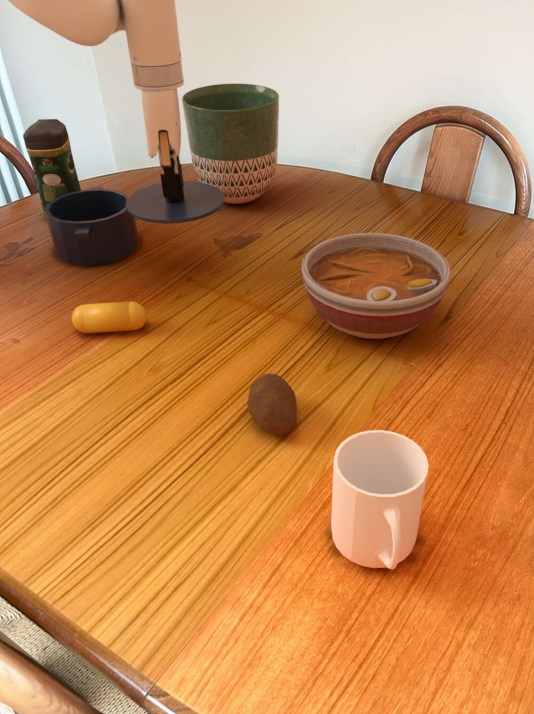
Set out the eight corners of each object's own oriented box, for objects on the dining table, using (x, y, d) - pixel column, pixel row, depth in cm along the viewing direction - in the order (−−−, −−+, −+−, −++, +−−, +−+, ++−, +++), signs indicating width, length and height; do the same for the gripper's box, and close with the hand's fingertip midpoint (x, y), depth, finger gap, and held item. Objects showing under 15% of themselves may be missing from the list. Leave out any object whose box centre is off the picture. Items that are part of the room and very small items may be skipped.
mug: (388, 493, 78) (397, 420, 70) (445, 570, 69) (462, 496, 62) (316, 519, 75) (317, 445, 67) (367, 603, 66) (375, 529, 59)
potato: (259, 449, 84) (256, 412, 80) (240, 403, 91) (236, 367, 87) (307, 438, 85) (307, 401, 81) (285, 393, 93) (284, 357, 89)
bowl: (454, 360, 98) (464, 302, 92) (302, 361, 98) (302, 303, 92) (430, 284, 116) (437, 231, 110) (301, 284, 116) (301, 232, 110)
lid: (122, 230, 105) (112, 182, 100) (131, 189, 118) (123, 146, 113) (225, 224, 106) (221, 177, 102) (223, 185, 119) (220, 142, 114)
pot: (46, 275, 119) (34, 231, 114) (65, 225, 135) (55, 185, 130) (133, 270, 120) (125, 227, 115) (142, 221, 137) (135, 181, 131)
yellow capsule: (73, 340, 103) (66, 315, 100) (77, 324, 107) (71, 299, 104) (147, 335, 104) (143, 310, 101) (149, 319, 108) (145, 295, 105)
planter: (292, 187, 150) (291, 87, 137) (263, 222, 136) (259, 114, 122) (214, 178, 155) (205, 80, 141) (178, 211, 141) (165, 105, 127)
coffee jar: (51, 204, 144) (29, 115, 132) (88, 203, 144) (68, 115, 132) (40, 223, 136) (15, 131, 124) (79, 222, 137) (57, 130, 125)
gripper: (137, 62, 105) (154, 175, 117) (127, 90, 92) (148, 214, 104) (184, 60, 105) (196, 173, 117) (181, 87, 93) (195, 211, 105)
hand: (173, 191), depth 110 cm, fingers closed on lid, 3 cm apart
